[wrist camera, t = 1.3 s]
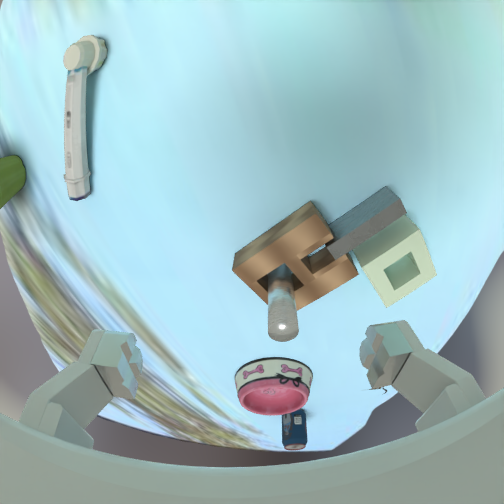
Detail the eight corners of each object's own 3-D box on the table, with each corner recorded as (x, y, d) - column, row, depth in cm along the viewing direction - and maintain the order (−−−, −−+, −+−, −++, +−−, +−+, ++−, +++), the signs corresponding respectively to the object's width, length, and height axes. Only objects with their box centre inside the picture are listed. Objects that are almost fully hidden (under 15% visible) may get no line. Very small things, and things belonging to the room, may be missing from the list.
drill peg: (281, 252, 42) (287, 316, 30) (295, 267, 43) (304, 333, 31) (263, 264, 43) (261, 330, 31) (277, 278, 45) (279, 345, 33)
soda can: (300, 417, 72) (302, 451, 62) (279, 415, 71) (279, 450, 61) (308, 407, 68) (311, 444, 58) (285, 406, 68) (286, 443, 58)
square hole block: (402, 211, 37) (419, 229, 32) (421, 255, 41) (436, 275, 36) (350, 246, 41) (361, 267, 36) (375, 285, 45) (386, 307, 40)
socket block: (310, 200, 38) (315, 213, 34) (351, 257, 42) (358, 274, 38) (235, 253, 43) (232, 270, 39) (281, 300, 47) (282, 318, 43)
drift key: (385, 186, 36) (399, 198, 31) (392, 199, 37) (406, 212, 32) (320, 230, 40) (326, 247, 36) (328, 242, 41) (335, 260, 37)
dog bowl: (327, 366, 58) (331, 391, 52) (288, 401, 67) (289, 422, 61) (253, 347, 54) (252, 374, 49) (224, 386, 64) (221, 409, 58)
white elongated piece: (60, 199, 35) (55, 39, 19) (81, 180, 40) (83, 37, 24) (84, 203, 35) (84, 33, 19) (105, 183, 40) (111, 33, 25)
